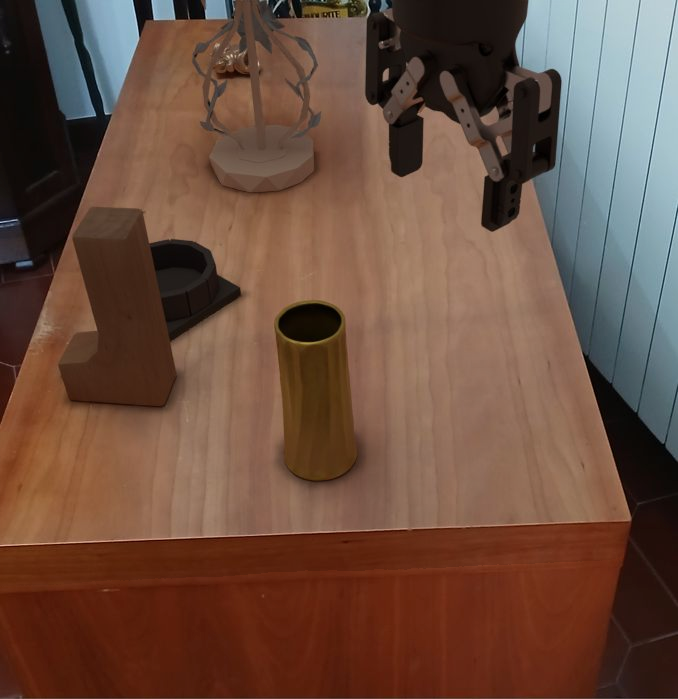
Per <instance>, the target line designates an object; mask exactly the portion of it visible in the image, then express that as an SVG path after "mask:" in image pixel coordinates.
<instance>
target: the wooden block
mask: <svg viewBox="0 0 678 699" xmlns="http://www.w3.org/2000/svg"><path fill="white" fill-rule="evenodd" d="M71 238H72V243H73V247H74V250H75V254H76V257H77V258H76V259H77V261H78V262H77V263H78V264H79V265H78V266H79V268H80V273H81V276H82V280H83V284H84V287H85V291H86V294H87V298H88V302H89V305H90V309H91V312H92V315H93V320H94V323H95V326H96V330H89V331H88V330H87V331H77V332H75V333H74V334H73V335H72V337H71V339H70V341H69V343H68V344H67V346H66V348H65V350H64V351H63V353H62V355H61V357H60V359H59V360H58V364H57V366H58V370H59V373H60V375H61V379H62V382H63V385H64V388H65V391H66V394H67V398H68V399H70V400H71V401H81V402H94V403H95V402H96V403H110V404H124V405H137V406H150V407H163V406H165V404H166V402H167V398H168V397H169V395H170V391H171V389H172V387H173V384H174V382H175V379H176V376H177V369H176V364H175V359H174V354H173V350H172V345H171V341H170V339H169V335H168V330H167V325H166V320H165V316H164V311H163V306H162V302H161V297H160V292H159V287H158V283H157V278H156V273H155V268H154V263H153V259H152V254H151V249H150V244H149V243H150V240H149V234H148V230H147V226H146V221H145V216H144V212H143V210H142V209H141V208H133V207H111V206H92V207H91V206H90V207H89V208H88V210H87V211H86V213H85V215H84V216H83V217H82V219H81V221H80V223H79V224H78V226H77V227H76V229H75V230H74V232H73V234H72V237H71Z"/></svg>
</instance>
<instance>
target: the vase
mask: <svg viewBox="0 0 678 699" xmlns="http://www.w3.org/2000/svg"><path fill="white" fill-rule="evenodd" d="M346 327H347V324H346V316H345V314H344V312H343V311H342V309H340V307H338V306H337V305H335V304H333V303H330V302H328V301H326V300H325V301H324V300H319V299H308V300H300V301H298V302H294V303H291V304H288V305H287V306H285V307H284V308H283V309H281V310H280V312H279V313H278V314H277V315H276V316H275V319H274V334H275V342H276V351H277V362H278V370H279V384H280V392H281V393H280V394H281V403H282V404H281V405H282V420H283V421H282V425H283V426H282V427H283V436H284V437H283V440H284V446H283V460H284V463H285V465H286V466H287V468H288V469H289V471H290V472H292V473H293V474H295V475H296V476H298V477H299V478H302V479H305V480H308V481H315V482H316V481H319V482H320V481H327V480H332V479H336V478H338V477H340V476H342V475H344V474H345V473H346V472H348V471H349V470H350V469H351V468H352V467H353V465H354V464H355V462H356V460H357V456H358V445H357V443H356V440H355V422H354V411H353V401H352V389H351V388H352V387H351V376H350V368H349V367H350V366H349V354H348V343H347V331H346V329H347V328H346Z"/></svg>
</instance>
